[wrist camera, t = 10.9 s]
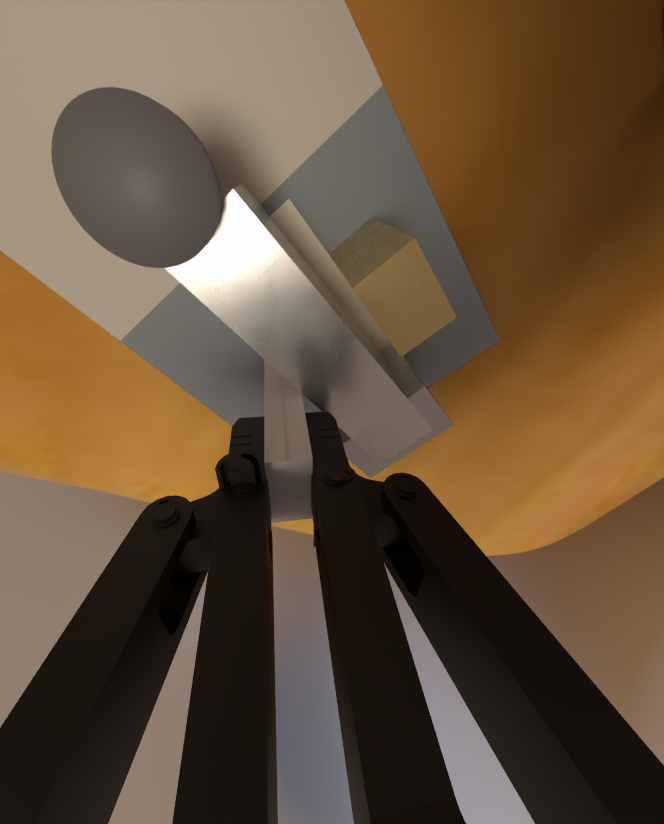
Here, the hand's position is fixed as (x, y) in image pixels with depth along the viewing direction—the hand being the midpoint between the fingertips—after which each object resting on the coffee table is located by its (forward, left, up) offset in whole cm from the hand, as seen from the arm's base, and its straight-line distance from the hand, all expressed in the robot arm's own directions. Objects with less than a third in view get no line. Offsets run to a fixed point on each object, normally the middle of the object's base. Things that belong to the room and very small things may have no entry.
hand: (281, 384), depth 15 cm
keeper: (-6, -1, -2) cm, 6 cm away
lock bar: (-3, -1, -1) cm, 3 cm away
